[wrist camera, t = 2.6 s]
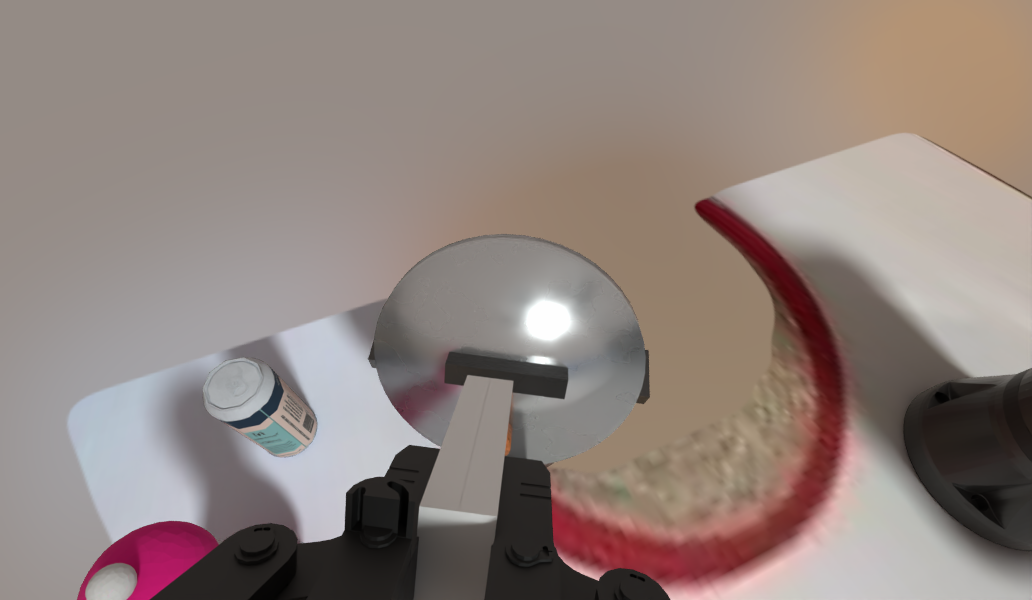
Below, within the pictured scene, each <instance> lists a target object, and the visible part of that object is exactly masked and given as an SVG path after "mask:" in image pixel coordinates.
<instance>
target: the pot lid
mask: <svg viewBox="0 0 1032 600" xmlns="http://www.w3.org/2000/svg"><path fill="white" fill-rule="evenodd" d="M374 355H375V364H376V368H377V372H378V376H379V379H380V382H381V384H382V386H383V389H384V391H385V393H386V395H387V396H388V398H389V400H390V401H391V403H392V405H393V406H394V407H395V409H396V410H397V411H398V412H399V414H400V415H401V416H402V417H403V418H404V419H405V420H406V421H407V422H408V423H409V424H410V425H411V426H412V427H413V428H414V429H415V430H416V431H418V432H419V433H420V434H421V435H423V436H424V437H425V438H427V439H428V440H430V441H431V442H433V443H435V444H436V445H438V446H440V447H441V446H442V443H443V440H444V438H445V435H446V432H447V429H448V427H449V424H450V421H451V419H452V416H453V413H454V410H455V408H456V405H457V402H458V399H459V397H460V394H461V391H462V389H463V386H464V383H465V380H466V378H467V375H471V376H479V377H487V378H495V379H502V380H510V381H513V390H512V398H511V406H510V415H509V423H508V431H507V440H506V448H505V456H508V457H516V458H524V459H531V460H539V461H542V462H543V463H544V464H548V463H553V462H557V461H561V460H564V459H567V458H571V457H573V456H576V455H578V454H580V453H583V452H585V451H587V450H589V449H590V448H592V447H594V446H595V445H597V444H599V443H600V442H601V441H603V440H604V439H606V438H607V437H608V436H610V435H611V434H612V433H613V432H614V431H615V430H616V429H617V428H618V427H619V426H620V425H621V424H622V422H623V421H624V420H625V419H626V417H627V416H628V415H629V414H630V412H631V410H632V409H633V407H634V405H635V403H636V401H637V399H638V397H639V394H640V391H641V389H642V385H643V380H644V376H645V363H646V356H645V348H644V341H643V338H642V334H641V331H640V327H639V324H638V321H637V317H636V315H635V312H634V310H633V308H632V306H631V304H630V302H629V300H628V299H627V297H626V296H625V294H624V293H623V291H622V290H621V288H620V287H619V286H618V285H617V284H616V283H615V281H614V280H613V279H612V278H611V277H610V276H609V275H608V274H607V273H606V272H605V271H603V270H602V269H601V268H600V267H599V266H598V265H596V264H595V263H594V262H592V261H591V260H589V259H587V258H586V257H584V256H583V255H581V254H580V253H578V252H575V251H573V250H571V249H569V248H567V247H565V246H563V245H560V244H557V243H554V242H551V241H548V240H544V239H540V238H535V237H529V236H525V235H511V234H497V235H484V236H478V237H473V238H468V239H465V240H461V241H458V242H455V243H452V244H449V245H447V246H445V247H443V248H441V249H439V250H437V251H435V252H433V253H431V254H430V255H428V256H427V257H425V258H424V259H422V260H421V261H419V262H418V263H417V264H416V265H415V266H414V267H413V268H411V270H409V271H408V272H407V273H406V274H405V276H404V277H403V278H402V279H401V281H400V282H399V283H398V284H397V286H396V287H395V289H394V290H393V292H392V294H391V295H390V296H389V298H388V300H387V302H386V303H385V305H384V307H383V309H382V312H381V314H380V317H379V319H378V322H377V327H376V332H375V338H374Z"/></svg>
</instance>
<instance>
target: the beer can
mask: <svg viewBox="0 0 1032 600" xmlns="http://www.w3.org/2000/svg"><path fill="white" fill-rule="evenodd" d="M203 402H204V406H205V408H206V410H207V411H208V413H209V414H211V415H212V416H213V417H215V418H217V419H219V420H220V421H222V422H223V423H225V424H226V425H228V426H230V427H231V428H233V429H234V430H236V431H237V432H239V433H240V434H242V435H243V436H245V437H246V438H248V439H250V440H251V441H253V442H254V443H256V444H257V445H259V446H260V447H262V448H263V449H265V450H266V451H268V452H269V453H270V454H272V455H274V456H277V457H284V458H285V457H291V456H294V455H297V454H299V453H301V452H302V451H303V450H305V449H306V448H307V447H308V446H309V445H310V444H311V442H312V441H313V439H314V437H315V435H316V431H317V420H316V417H315V415H314V413H313V412H312V411H311V410H310V409H309V408H308V406H307V405H306V404H305V403H304V402H303V401H302V400H301V399H300V398H299V397H298V396H297V395H296V394H295V393H294V392H293V391H292V390H291V389H290V388H289V387H288V386H287V384H286V383H285V382H284V381H283V380H282V379H281V378H280V377H279V376H278V375H277V374H276V373H275V372H274V371H273V370H272V369H271V368H270V367H269V366H268V365H267V364H266V363H264V362H263V361H261V360H258V359H255V358H244V357H243V358H238V359H232V360H226V361H224V362H223V363H222V364H220V365H219V366H218V367H216V368H215V369H214V370H212V371H211V372H210V373H209V375H208V378H207V380H206V382H205V384H204V387H203Z"/></svg>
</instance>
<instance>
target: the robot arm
mask: <svg viewBox="0 0 1032 600" xmlns="http://www.w3.org/2000/svg"><path fill="white" fill-rule="evenodd" d="M512 390H513V381H510V380H502V379H495V378H487V377H479V376H471V375H467V378H466V380H465V383H464V386H463V389H462V391H461V394H460V397H459V399H458V402H457V405H456V408H455V410H454V413H453V416H452V419H451V421H450V424H449V427H448V429H447V432H446V435H445V438H444V440H443V443H442V446H441V449H436V448H428V447H421V446H413V445H409V446H407V447H406V448H405V449H403V450H402V451H400V452H399V453H398V454H396V456H395V458H394V459H393V461H392V463H391V465H390V468H389V469H388V471H387V473H386V475H385V477H375V478H370V479H366V480H363V481H361V482H359V483H357V484H355V485H353V486H352V488H351V489H350V490H349V491H348V492H347V493H346V511H345V530H344V532H343V534H342V536H339V537H337V538H334V539H331V540H326V541H320V542H312V543H303V544H297V540H298V539H297V537H296V535H295V533H294V531H292V530H291V529H289V528H287V527H286V526H284V525H278V524H272V523H270V524H260V525H254V526H251V527H248V528H245V529H242V530H240V531H238V532H237V533H235V534H233V535H232V536H230V537H228V538H227V539H226V540H224V541H223V542H222V543H221V544H219V545H218V546H217V547H216V548H214V549H213V550H212V551H211V552H209V553H208V554H207V555H205V556H204V557H203V558H202V559H200V560H199V561H198V562H197V563H195V564H194V565H193V566H191V567H190V568H189V569H188V570H186V571H185V572H184V573H183V574H181V575H180V576H179V577H178V578H176V579H175V580H174V581H172V582H171V583H170V584H169V585H167V586H166V587H165V588H164V589H162V590H161V591H160V592H158V593H157V594H156V595H155V596H153V597H152V598H151V599H150V600H670V598H669V596H668V595H667V593H666V592H665V591H664V590H663V589H662V587H661V586H660V585H659V584H658V583H657V582H655V581H654V580H653V579H651V578H650V577H648V576H647V575H645V574H643V573H640V572H638V571H635V570H632V569H622V568H618V569H614V570H610V571H607V572H606V573H605V574H604V575H603V576H601V577H600V579H599V581H597V580H595V579H592V578H590V577H588V576H585V575H583V574H581V573H579V572H577V571H575V570H573V569H572V568H571V567H569V566H568V565H567V564H565V563H564V562H563V560H562V559H561V558H560V557H559V556H558V554H557V550H556V548H555V547H554V543H553V526H552V504H551V489H550V488H551V482H550V472H549V471H548V469H547V468H546V466H545V465H544V463H543V462H542V461H539V460H531V459H524V458H516V457H508V456H505V448H506V440H507V431H508V423H509V415H510V406H511V398H512ZM904 437H905V443H906V447H907V451H908V454H909V457H910V459H911V462H912V464H913V466H914V468H915V470H916V472H917V474H918V476H919V477H920V479H921V481H922V482H923V484H924V485H925V486H926V488H927V489H928V491H929V492H930V493H931V494H932V496H933V497H934V498H935V499H936V500H937V501H938V502H939V504H940V505H941V506H942V507H943V508H944V509H945V510H946V511H947V512H949V513H950V514H951V515H952V516H953V517H954V518H955V519H957V520H958V521H959V522H960V523H962V524H963V525H964V526H966V527H967V528H969V529H970V530H972V531H973V532H975V533H977V534H978V535H980V536H982V537H984V538H986V539H988V540H990V541H992V542H995V543H997V544H1000V545H1003V546H1006V547H1009V548H1013V549H1018V550H1026V551H1032V368H1031V369H1028V370H1026V371H1023V372H1021V373H1018V374H1014V375H1001V376H989V377H977V378H964V379H956V380H951V381H947V382H944V383H942V384H940V385H937V386H935V387H933V388H931V389H929V390H926V391H924V392H923V393H921V394H920V395H918V396H917V397H916V398H915V399H914V400H913V401H912V403H911V404H910V406H909V408H908V410H907V412H906V416H905V421H904Z"/></svg>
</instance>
